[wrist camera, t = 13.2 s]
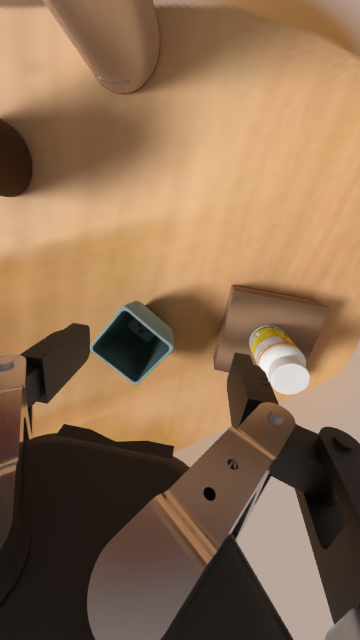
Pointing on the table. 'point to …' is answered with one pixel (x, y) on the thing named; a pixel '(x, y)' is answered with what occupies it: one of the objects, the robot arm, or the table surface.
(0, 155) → the olive oil
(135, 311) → the flower pot
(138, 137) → the table surface
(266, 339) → the supplement bottle
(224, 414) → the table surface
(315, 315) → the walnut plinth
